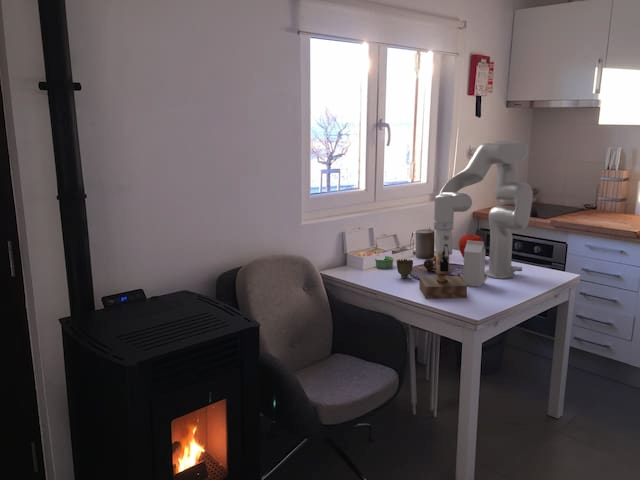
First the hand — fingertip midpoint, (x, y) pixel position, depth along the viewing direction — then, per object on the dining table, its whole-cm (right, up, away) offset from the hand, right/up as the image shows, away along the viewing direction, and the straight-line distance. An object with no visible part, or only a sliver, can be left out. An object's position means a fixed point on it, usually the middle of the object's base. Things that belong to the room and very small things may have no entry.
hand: (442, 268), depth 221 cm
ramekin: (-18, -2, +45) cm, 48 cm away
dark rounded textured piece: (-12, -6, +25) cm, 28 cm away
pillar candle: (+5, +3, +61) cm, 61 cm away
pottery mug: (+4, -3, +35) cm, 35 cm away
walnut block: (0, -10, +2) cm, 10 cm away
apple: (+26, +1, +50) cm, 56 cm away
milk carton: (+16, -7, +13) cm, 22 cm away
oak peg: (0, -6, +1) cm, 6 cm away
